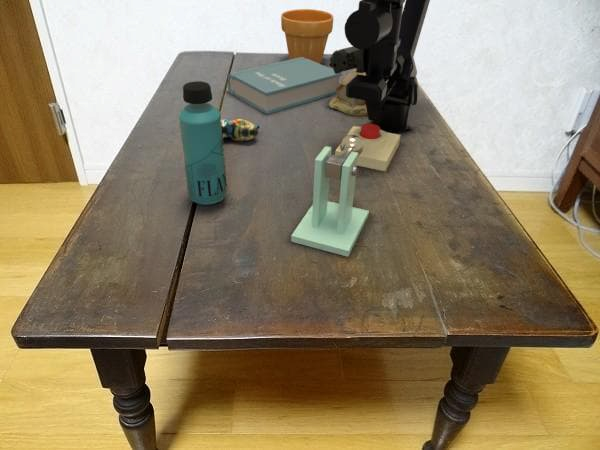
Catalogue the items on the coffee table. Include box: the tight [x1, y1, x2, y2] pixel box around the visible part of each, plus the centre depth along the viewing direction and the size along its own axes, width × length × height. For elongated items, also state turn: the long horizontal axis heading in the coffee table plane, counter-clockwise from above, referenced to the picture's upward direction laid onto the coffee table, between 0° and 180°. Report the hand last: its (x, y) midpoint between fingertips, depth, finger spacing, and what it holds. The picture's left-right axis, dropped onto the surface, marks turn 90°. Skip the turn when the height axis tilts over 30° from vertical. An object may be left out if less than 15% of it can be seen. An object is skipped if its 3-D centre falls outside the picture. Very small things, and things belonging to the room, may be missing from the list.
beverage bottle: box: [177, 80, 228, 206], centre depth 74 cm, size 6×7×20 cm
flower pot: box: [280, 8, 334, 65], centre depth 135 cm, size 14×14×13 cm
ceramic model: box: [328, 68, 368, 117], centre depth 112 cm, size 14×11×10 cm
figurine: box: [221, 118, 260, 142], centre depth 99 cm, size 10×4×15 cm
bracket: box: [290, 145, 370, 258], centre depth 71 cm, size 11×9×13 cm
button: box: [360, 123, 380, 139], centre depth 93 cm, size 4×4×2 cm
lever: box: [325, 135, 364, 181], centre depth 72 cm, size 11×4×4 cm, turn 158°
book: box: [227, 57, 343, 115], centre depth 119 cm, size 23×16×5 cm
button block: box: [334, 125, 402, 172], centre depth 95 cm, size 12×10×4 cm
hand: (371, 119), depth 92 cm, fingers closed
